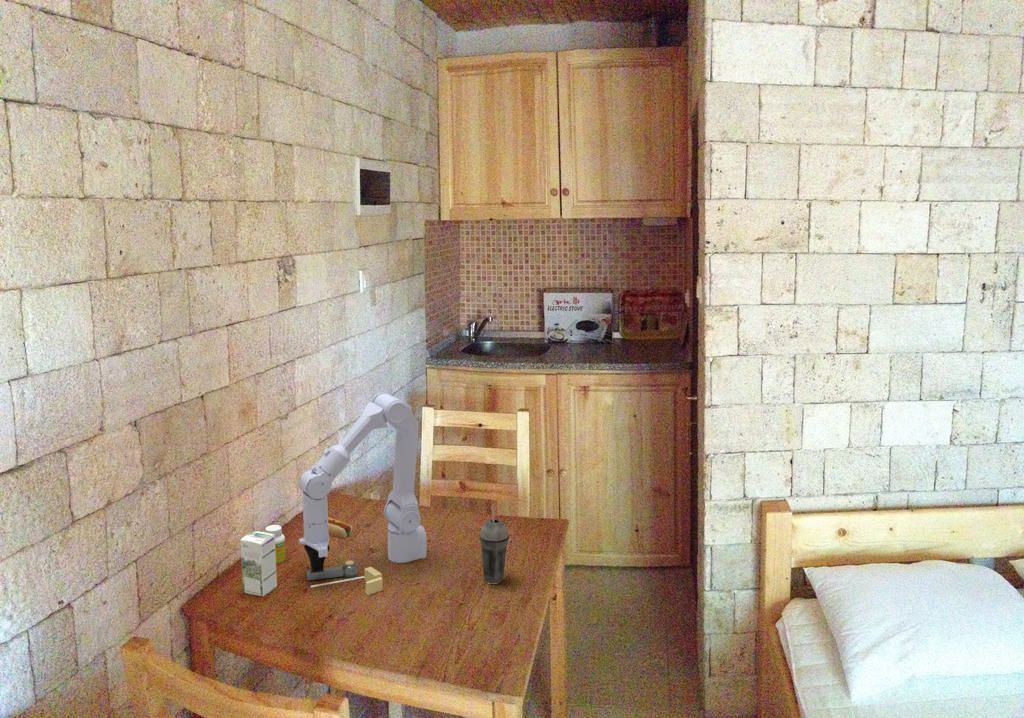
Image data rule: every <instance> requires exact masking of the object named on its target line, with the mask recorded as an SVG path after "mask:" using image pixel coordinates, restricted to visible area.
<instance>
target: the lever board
mask: <svg viewBox="0 0 1024 718" xmlns="http://www.w3.org/2000/svg"><path fill="white" fill-rule="evenodd" d="M354 562H355V561H354V560H346V561H345V562H344V563H345V565H346V566H352V565H354ZM363 573H364V575H363V576H358V577H357V576H356V577H354V578H346V579H345V578H344V579H341V580H335V581H331V582H324V583H318V584H313V585H310V588H315V587H320V586H326V585H333V584H337V583H338V584H339V583H342V582H343V583H344V582H348V581H353V580H355V581H356V580H360V579H363V580H364V581H365V595H367V596H370V595H373V594H377V593H379V592H381V591H383V590H384V589H383V588H384V586H383V585H384V584H383V583H384V582H383V580H384V579H383V573H381V572H380V571H378V570H377V569H376V568H374V567H373V566H368V567H365V568H364V571H363Z"/></svg>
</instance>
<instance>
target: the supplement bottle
mask: <svg viewBox="0 0 1024 718" xmlns="http://www.w3.org/2000/svg"><path fill="white" fill-rule="evenodd" d="M264 529H265V531H264V533H270V534H274V535H275V554H276V565H277V564H279V563H280V564H281V563H282V562H284V561H286V560H287V559H286V558H287V556H286V537H285V535H284V534H283V530H282V526H281V525H280V524H271V525H267V526H266V527H265V528H264Z"/></svg>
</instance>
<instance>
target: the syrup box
mask: <svg viewBox="0 0 1024 718" xmlns="http://www.w3.org/2000/svg"><path fill="white" fill-rule="evenodd" d="M240 557H241V559H240V560H241V574H242V575H241V577H242V592H243V593H245V594H249V595H255V596H258V597H265V596H266V595H267V594H268V593H270V592H271V591H273V590H274V589H276V588H277V586H278V583H277V581H278V580H277V564H276V554H275V535H274V534H270V533H265V531H257V530H253V531H252V532H249V533H248V534H246V535H245V536H243V537H241V538H240Z"/></svg>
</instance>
